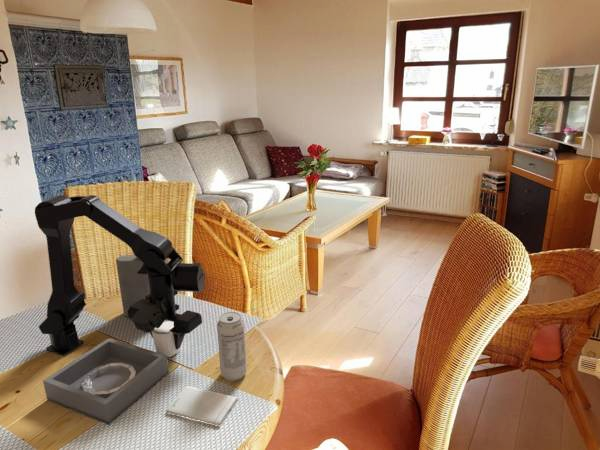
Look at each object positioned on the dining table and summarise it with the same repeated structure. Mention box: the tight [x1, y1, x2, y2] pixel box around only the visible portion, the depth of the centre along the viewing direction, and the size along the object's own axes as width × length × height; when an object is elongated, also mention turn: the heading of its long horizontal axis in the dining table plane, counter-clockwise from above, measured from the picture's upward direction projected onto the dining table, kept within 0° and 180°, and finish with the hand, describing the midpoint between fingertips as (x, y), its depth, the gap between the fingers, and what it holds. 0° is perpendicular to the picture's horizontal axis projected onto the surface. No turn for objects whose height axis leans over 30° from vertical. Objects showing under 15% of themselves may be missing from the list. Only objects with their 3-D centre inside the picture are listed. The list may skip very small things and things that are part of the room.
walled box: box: [42, 337, 170, 426], centre depth 102 cm, size 18×18×5 cm
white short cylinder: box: [152, 320, 181, 358], centre depth 114 cm, size 7×7×7 cm
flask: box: [115, 254, 169, 318], centre depth 131 cm, size 15×6×20 cm, turn 80°
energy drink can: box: [216, 311, 248, 382], centre depth 104 cm, size 6×6×15 cm
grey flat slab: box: [165, 385, 239, 427], centre depth 96 cm, size 2×8×12 cm
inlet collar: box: [81, 363, 136, 399], centre depth 102 cm, size 11×11×2 cm
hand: (167, 345), depth 115 cm, fingers closed on white short cylinder, 6 cm apart
